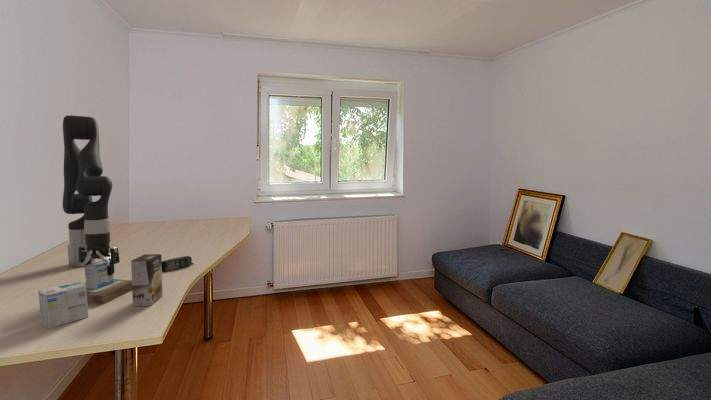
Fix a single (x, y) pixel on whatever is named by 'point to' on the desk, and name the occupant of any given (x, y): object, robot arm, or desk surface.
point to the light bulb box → (63, 304)
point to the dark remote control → (176, 263)
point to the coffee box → (146, 279)
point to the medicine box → (97, 275)
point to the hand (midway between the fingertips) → (100, 274)
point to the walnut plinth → (108, 291)
